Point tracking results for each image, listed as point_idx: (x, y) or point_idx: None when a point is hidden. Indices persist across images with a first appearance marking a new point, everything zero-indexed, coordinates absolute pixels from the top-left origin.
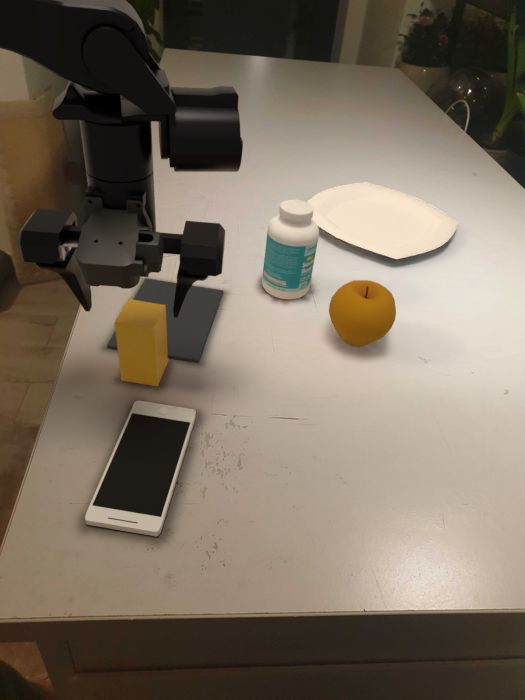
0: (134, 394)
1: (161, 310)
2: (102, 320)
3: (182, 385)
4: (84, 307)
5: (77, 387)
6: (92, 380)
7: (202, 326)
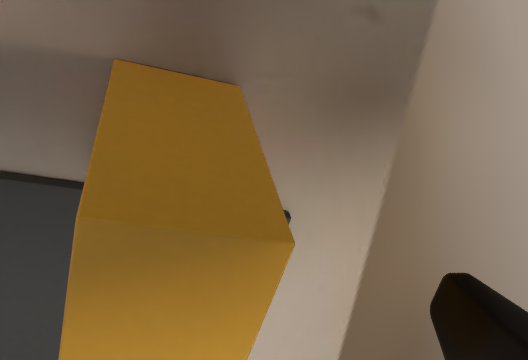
0: (190, 22)
1: (69, 336)
2: (304, 299)
3: (23, 65)
4: (489, 290)
5: (370, 56)
6: (326, 86)
7: (12, 309)
